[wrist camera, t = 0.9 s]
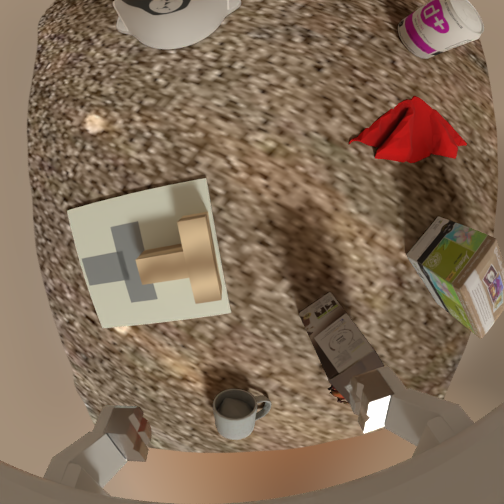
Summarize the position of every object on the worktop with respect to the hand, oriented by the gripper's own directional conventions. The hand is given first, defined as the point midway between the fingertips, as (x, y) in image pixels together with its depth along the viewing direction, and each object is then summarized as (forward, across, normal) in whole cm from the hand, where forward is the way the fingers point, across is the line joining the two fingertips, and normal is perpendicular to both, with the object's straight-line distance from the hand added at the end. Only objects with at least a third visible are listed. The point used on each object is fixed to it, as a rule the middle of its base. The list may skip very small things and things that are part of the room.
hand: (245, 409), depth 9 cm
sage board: (+32, +13, +2) cm, 34 cm away
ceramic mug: (+33, +4, +32) cm, 46 cm away
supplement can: (+31, -36, -30) cm, 56 cm away
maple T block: (+31, +8, +2) cm, 32 cm away
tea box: (+32, -36, +11) cm, 49 cm away
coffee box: (+32, -13, +17) cm, 38 cm away
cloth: (+32, -32, -12) cm, 47 cm away
